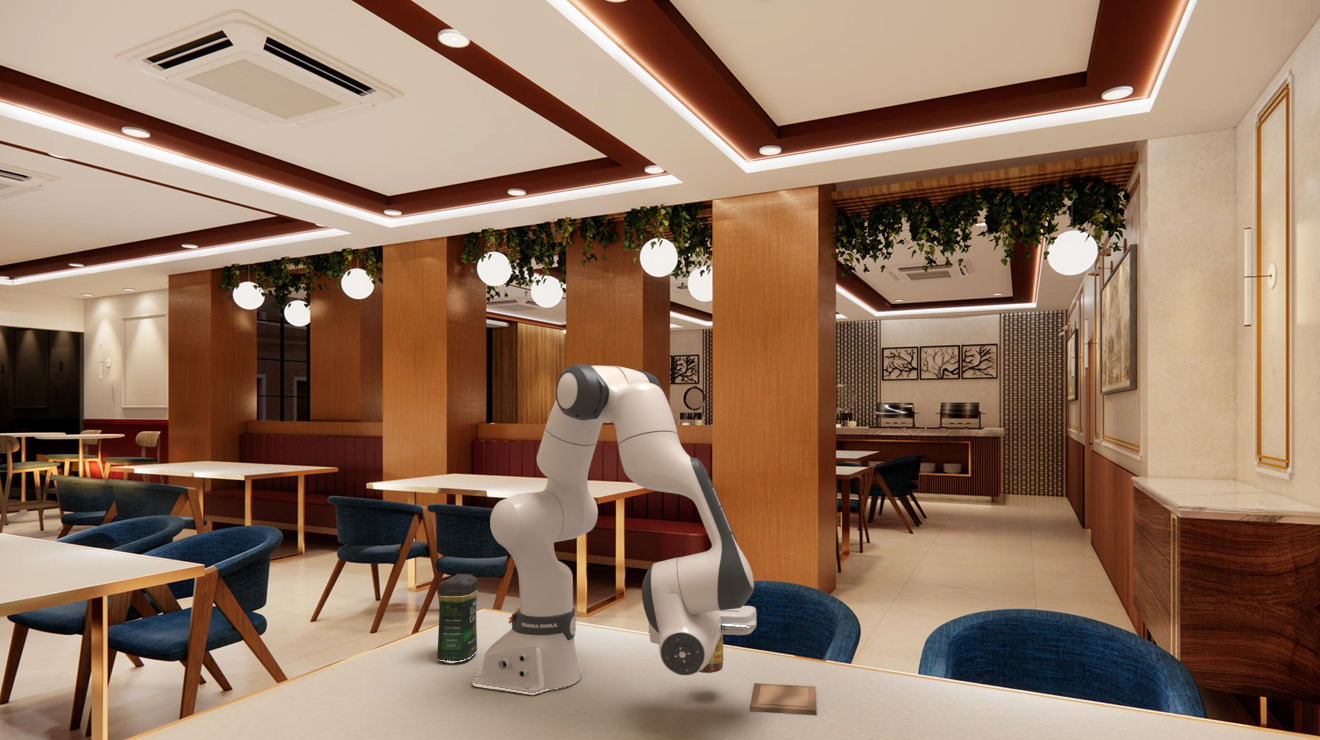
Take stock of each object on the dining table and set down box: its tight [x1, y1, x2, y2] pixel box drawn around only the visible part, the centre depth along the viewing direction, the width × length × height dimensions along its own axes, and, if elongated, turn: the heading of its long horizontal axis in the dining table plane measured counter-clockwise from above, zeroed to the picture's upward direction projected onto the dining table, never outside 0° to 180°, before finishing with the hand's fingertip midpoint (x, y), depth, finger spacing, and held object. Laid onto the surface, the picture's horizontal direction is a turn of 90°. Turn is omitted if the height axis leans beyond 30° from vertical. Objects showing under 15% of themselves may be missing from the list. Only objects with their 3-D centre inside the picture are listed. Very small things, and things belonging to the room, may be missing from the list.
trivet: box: [749, 682, 818, 716], centre depth 139 cm, size 12×12×1 cm
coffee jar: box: [436, 573, 478, 661], centre depth 168 cm, size 10×8×19 cm
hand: (706, 607), depth 144 cm, fingers closed on sauce bottle, 6 cm apart
